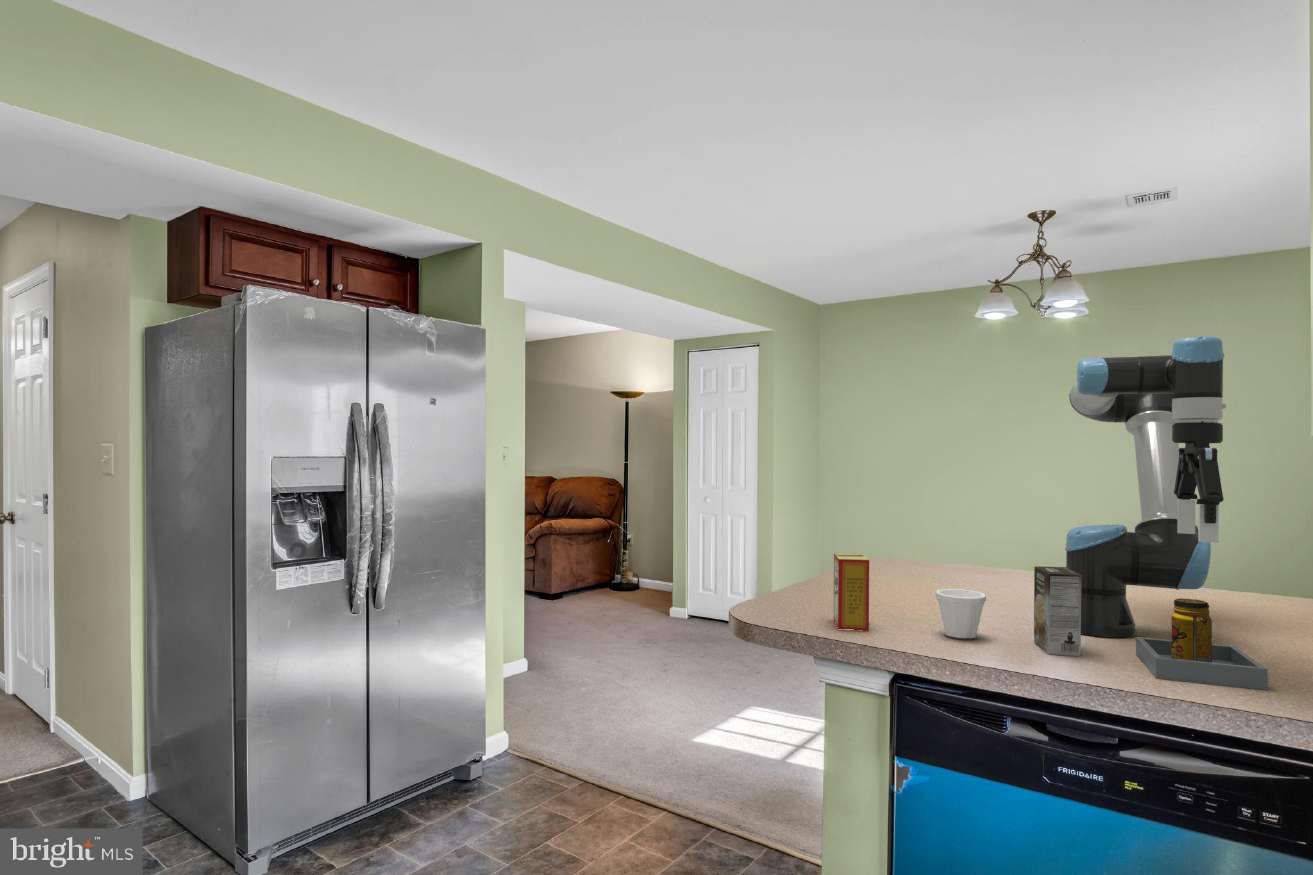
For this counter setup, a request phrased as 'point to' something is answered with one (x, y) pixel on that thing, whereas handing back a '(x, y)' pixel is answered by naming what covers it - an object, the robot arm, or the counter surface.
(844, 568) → the baking soda box
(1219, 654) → the tray
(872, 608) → the counter surface
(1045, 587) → the coffee box
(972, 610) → the cup
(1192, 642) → the condiment
